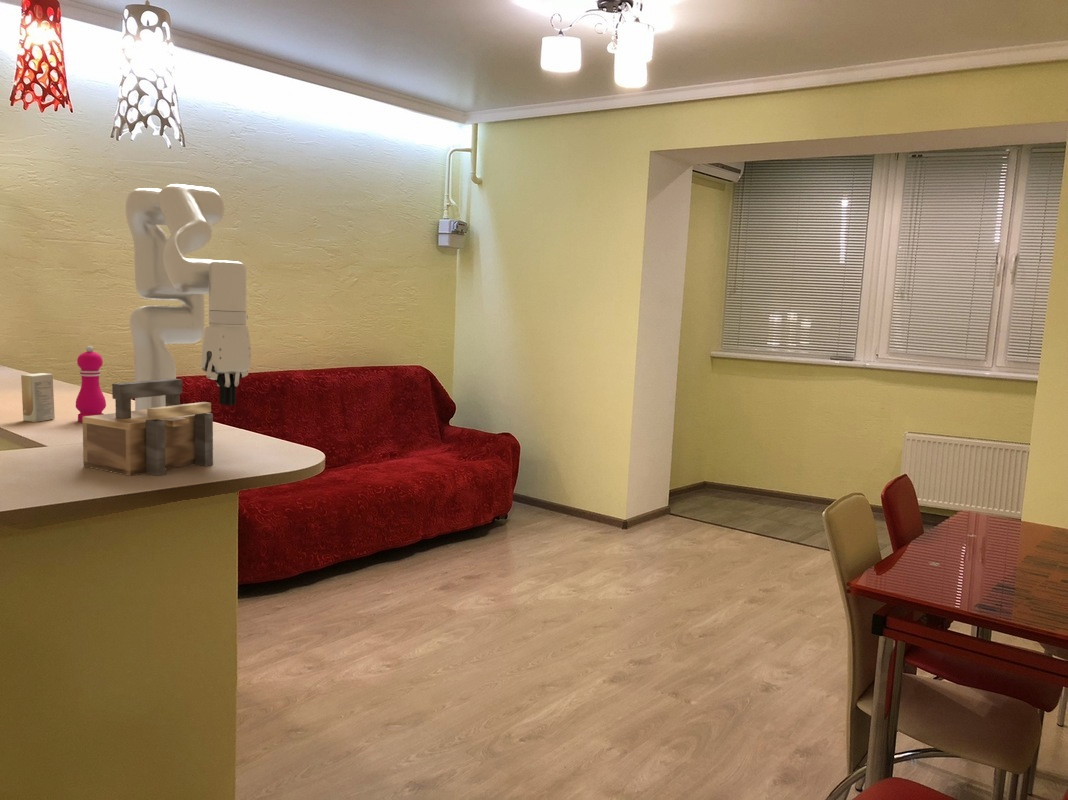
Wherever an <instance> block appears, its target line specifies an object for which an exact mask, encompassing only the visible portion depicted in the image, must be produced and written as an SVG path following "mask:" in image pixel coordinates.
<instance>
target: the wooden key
mask: <svg viewBox="0 0 1068 800" xmlns="http://www.w3.org/2000/svg"><path fill="white" fill-rule="evenodd" d="M202 413H212V402H207V401H201V402H200V401H199V402H194V403H193V402H191V403H183V404H180V405H173V406H165V407H156V408H147V419H154V420H156V419H163V418H171V417H179V416H186V415H194V414H202Z"/></svg>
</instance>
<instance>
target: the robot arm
mask: <svg viewBox="0 0 1068 800" xmlns="http://www.w3.org/2000/svg"><path fill="white" fill-rule="evenodd" d="M125 202H126V203H125V216H126V220H127V224H128V228H129V230H130V234H131V237H132V242H133V247H134V248H133V251H134V253H133V254H134V256H133V257H134V283H135V290H136V293H137V295H138V296H139V297H140V298H142V299H144V300H152V301H153V300H154V301H174V302H175V301H176V302H177V301H178V302H180V304H181V305H179V306H178V305H177V306H176V305H175V306H174V305H154V304H152V305H145V306H144V305H142V306H139V307H137V308H135V309H133V311H132V312H131V313H130V316H129V329H130V334H131V339H132V345H133V359H134V363H133V364H134V382H140V381H152V380H164V379H177V370H176V368H177V367H176V366H177V365H176V360H175V357H174V356H173V354H172V353H171V352H170V350H168V348H167V347H166V345H172V344H173V345H174V344H175V345H176V344H179V345H181V344H182V345H183V344H186V345H188V344H196V343H199V342H200V341H201V340H202V339H203V340H202V345H201V369H202V371H203V372H206V375H205V377H206V379H208V380H209V379H210V380H213V381H215V382H216V386H217V387H219V404H220V405H221V406H228V407H230V406H236V405H237V387H238V386H239V384H240V380H242V378H245V377H247V376H248V375H249V369H250V368H251V366H252V365H251V364H252V351H251V350H252V349H251V348H252V346H251V339H250V332H249V328H248V325H247V320H248V319H249V315H248V314H247V267H246V265H245V264H244V262H241V261H236V260H235V261H233V260H218V259H208V258H189V257H188V258H186V257H185V256H184V255H187V254H190V253H193V252H195V251H198V250H200V249H202V248H203V247H205V246H206V245H207V244H208V243H209V242H210V241H211V239H212V235H213V233H212V232H213V230H212V227H211V226H215V225H217V224H219V223H220V222H221V221H222V220H223V219H224V215H225V203H224V200H223V197H222V196H221V195H220V193H219V192H218V191H217V190H216V189H214V188H211V187H205V186H197V185H190V184H189V185H188V184H179V183H175V184H174V183H173V184H169V185H165V186H163V187H162V189H161V188H152V187H151V188H150V187H149V188H147V187H146V188H145V187H143V188H136V189H133V190H131V191H130V192H129V193H128V195H127V197H126V201H125ZM160 226H167V228H168V230H169V233H170V236H169V237H168V235H167V233H165V231H164V230H163V229H162V227H160ZM205 295H208V325H205V324H206V323H205V322H206V321H205V320H206V317H205V316H206V315H205V313H206V312H205ZM165 406H166V400H165V395H162V396H153V397H143V398H134V411H136V410H144V409H147V408H156V407H165Z"/></svg>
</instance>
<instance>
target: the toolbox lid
mask: <svg viewBox="0 0 1068 800" xmlns="http://www.w3.org/2000/svg"><path fill="white" fill-rule="evenodd" d="M111 386H112V389H111V390H112V391H111V392H112V394H111V398H112V399H114V400H115V401H114V402H115V412H111V413H103V414H102V415H93V416H84V417H83V422H82V424H83V423H88V424H94V425H100V426H107V427H113V428H119V429H125V430H135V429H142V428H146V420H148V419H147V409H144V410H136V411H135V410H132V399H135V398H143V397H153V396H162V395H165V400H166V406H173V405H181V401H180V400H181V395H180V394H183V379H180V378H176V379H164V380H152V381H140V382H135V381H130V382H119V383H116V382H115V383H111ZM209 413H210V414H212V412H209ZM160 420H165V426H171V427H175V426H182V425H189V422H193V421H195V414H194V415H186V416H179V417H171V418H163V419H160Z"/></svg>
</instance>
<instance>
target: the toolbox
mask: <svg viewBox="0 0 1068 800" xmlns="http://www.w3.org/2000/svg"><path fill="white" fill-rule="evenodd" d="M210 413H211V412H209V413H202V414H195V421H193V422H189V425H182V426H175V427H171V426H165V420H160V419H156V420H154V419H148V420H146V428H142V429H135V430H125V429H119V428H113V427H107V426H100V425H94V424H88V423H83V422H82V448H83V449H82V453H83V454H82V457H83V458H82V460H83V467H84V466H87V467H86V468H89V467H92V468H91V469H94V468H97V469H96V470H99V469H102V470H101V471H104V470H107V471H106V472H109V471H112V472H111V473H114V472H116V474H119V473H121V474H120V475H124V474H125V475H126V476H129V475H130V476H129V477H131V476H134V475H135V476H136V474H137V475H140V474H147V475H151V476H162V475H166V470H167V469H172V468H177V467H182V466H187V465H193V464H195V465H198V466H204V467H207V466H212V465H213V464H214V428H213V427H214V424H213V423H214V414H213V413H211V414H210Z"/></svg>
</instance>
